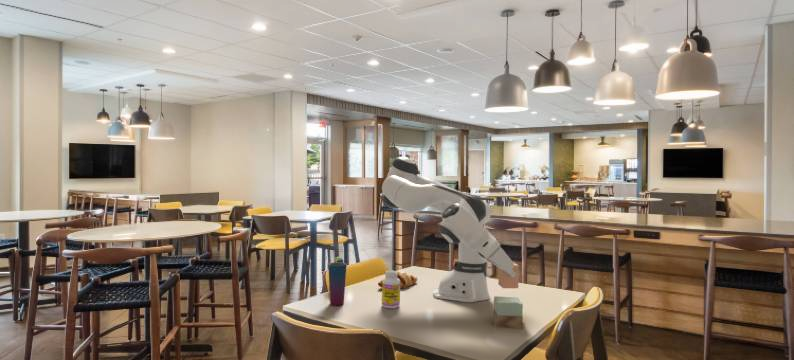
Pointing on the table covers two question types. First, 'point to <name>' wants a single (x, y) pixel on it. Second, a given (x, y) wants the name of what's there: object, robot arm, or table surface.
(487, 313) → the table surface
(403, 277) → the croissant
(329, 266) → the cup
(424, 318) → the table surface
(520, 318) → the tower base
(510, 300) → the tower top
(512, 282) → the terracotta block
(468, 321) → the table surface
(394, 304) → the supplement bottle
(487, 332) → the table surface
